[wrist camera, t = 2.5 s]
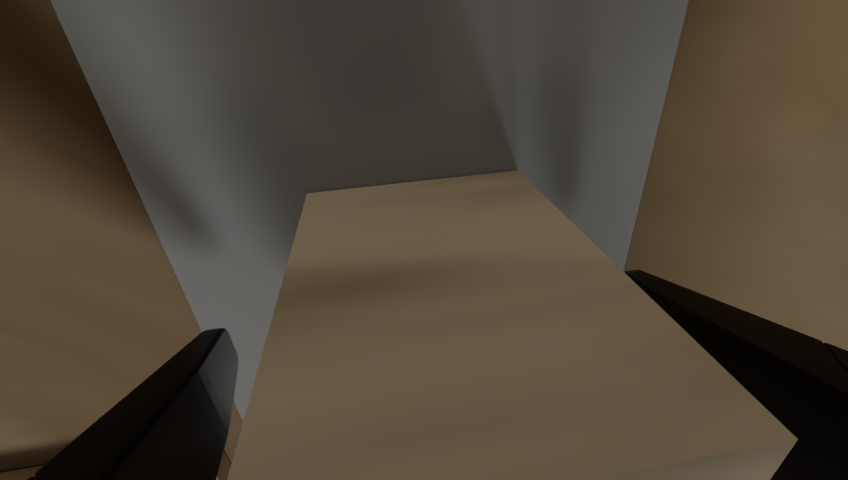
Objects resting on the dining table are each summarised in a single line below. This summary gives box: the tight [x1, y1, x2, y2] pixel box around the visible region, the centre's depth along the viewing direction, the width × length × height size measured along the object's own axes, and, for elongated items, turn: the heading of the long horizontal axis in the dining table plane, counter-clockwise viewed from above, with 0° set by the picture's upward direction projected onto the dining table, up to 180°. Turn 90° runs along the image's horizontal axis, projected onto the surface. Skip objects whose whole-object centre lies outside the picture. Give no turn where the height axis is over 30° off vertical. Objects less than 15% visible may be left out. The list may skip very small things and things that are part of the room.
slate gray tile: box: [50, 0, 689, 421], centre depth 11 cm, size 14×12×1 cm
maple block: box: [227, 170, 798, 480], centre depth 7 cm, size 5×5×7 cm
